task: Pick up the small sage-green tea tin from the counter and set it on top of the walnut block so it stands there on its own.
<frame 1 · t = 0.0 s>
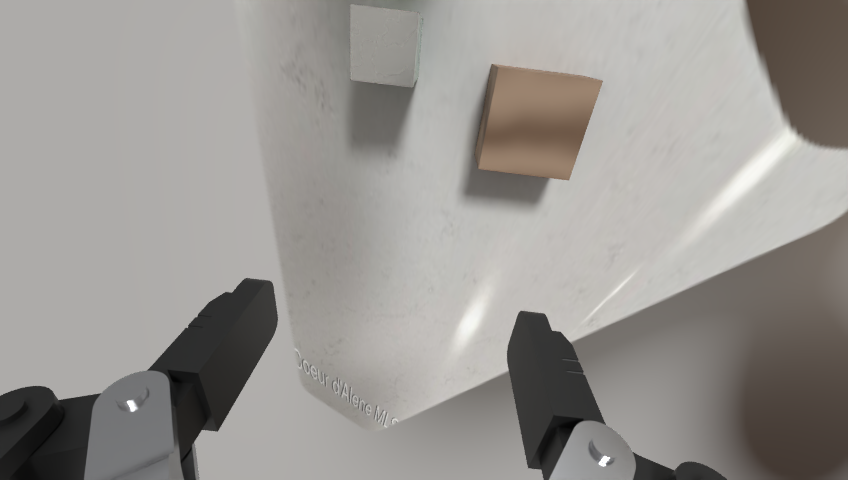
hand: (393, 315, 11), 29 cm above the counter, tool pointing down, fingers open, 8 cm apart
walnut block: (525, 117, 36), on the counter
tea tin: (394, 46, 33), on the counter
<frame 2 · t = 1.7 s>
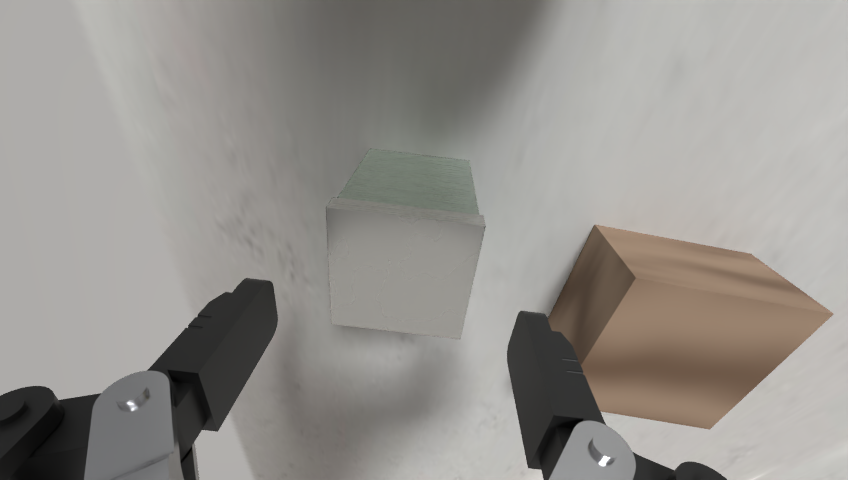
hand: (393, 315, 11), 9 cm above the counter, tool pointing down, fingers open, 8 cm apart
walnut block: (631, 298, 21), on the counter
tea tin: (415, 199, 19), on the counter
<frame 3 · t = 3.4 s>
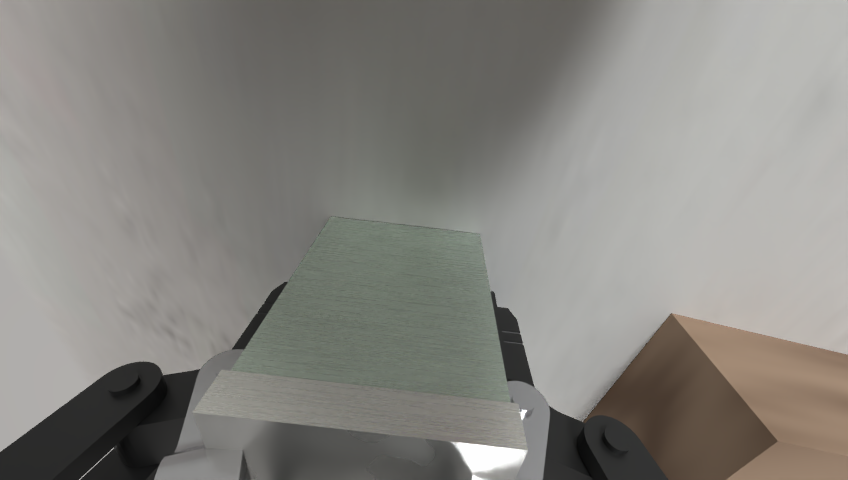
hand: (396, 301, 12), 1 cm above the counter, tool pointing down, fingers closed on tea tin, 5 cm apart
walnut block: (700, 403, 16), on the counter
tea tin: (400, 284, 13), on the counter, touching gripper
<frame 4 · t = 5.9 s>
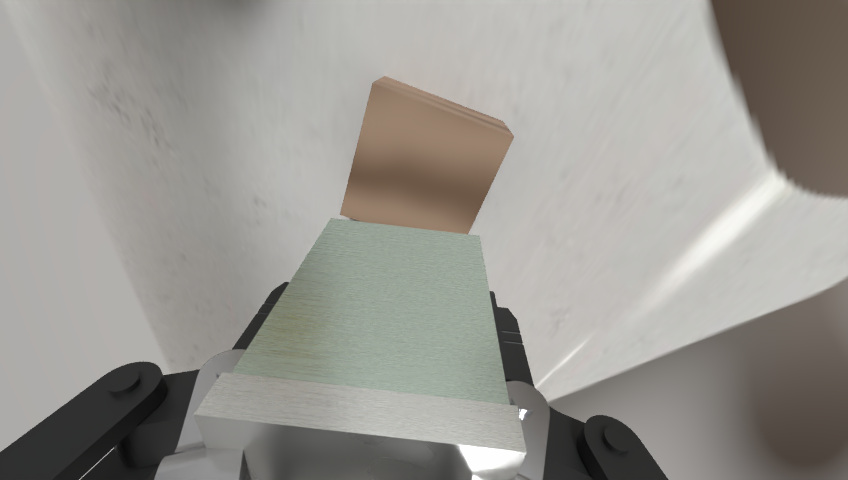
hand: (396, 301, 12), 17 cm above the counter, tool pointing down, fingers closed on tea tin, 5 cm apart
walnut block: (424, 156, 27), on the counter
tea tin: (400, 286, 13), point 16 cm above the counter, touching gripper
when the fingers open (7 cm above the counter, at t = 8.6 s): tea tin drops 1 cm, resting on walnut block.
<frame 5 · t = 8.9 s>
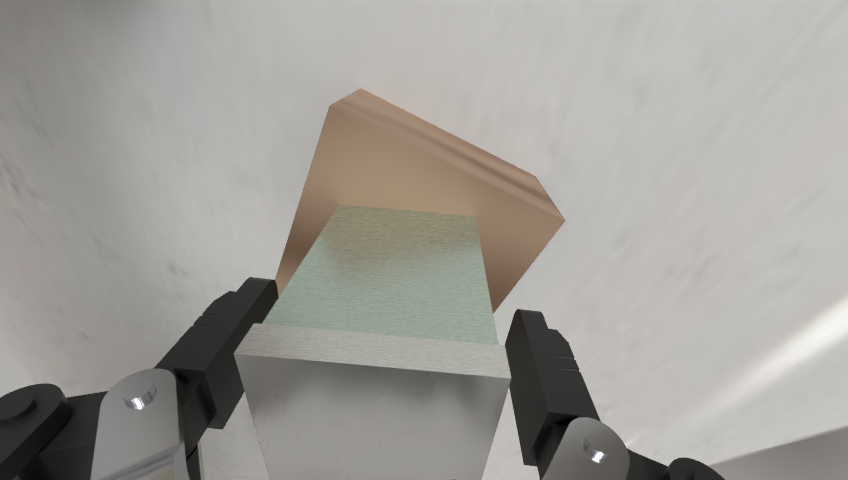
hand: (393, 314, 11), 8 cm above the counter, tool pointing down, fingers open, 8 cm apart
walnut block: (412, 211, 18), on the counter, touching tea tin
tea tin: (404, 266, 14), point 5 cm above the counter, touching walnut block
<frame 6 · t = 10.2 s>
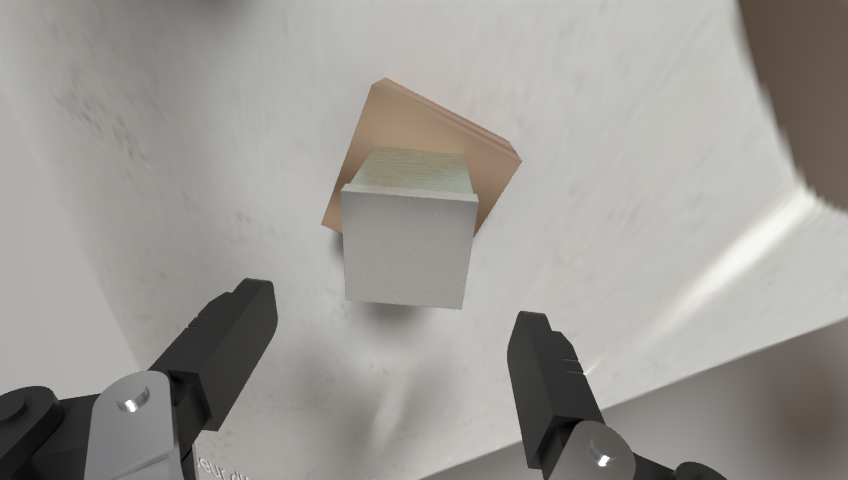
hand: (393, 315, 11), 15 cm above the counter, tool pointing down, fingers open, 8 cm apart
walnut block: (420, 169, 25), on the counter, touching tea tin
tea tin: (416, 192, 20), point 5 cm above the counter, touching walnut block
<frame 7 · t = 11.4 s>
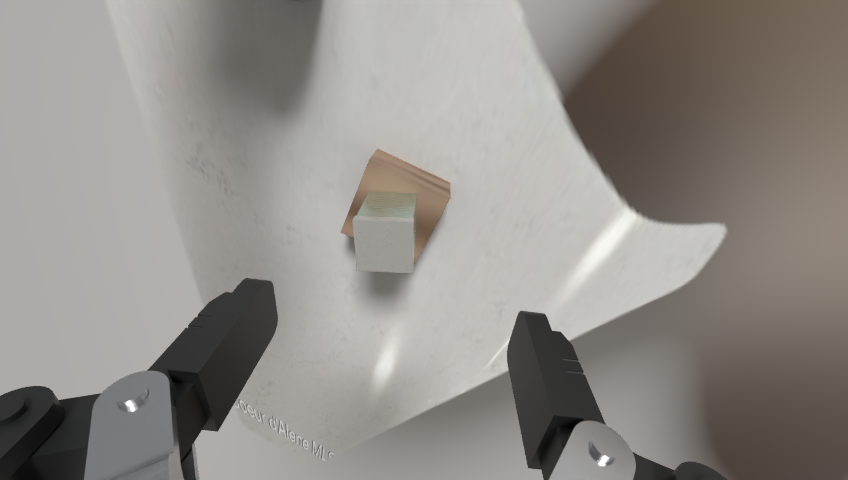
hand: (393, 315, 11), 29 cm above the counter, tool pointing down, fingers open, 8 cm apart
walnut block: (399, 198, 41), on the counter, touching tea tin
tea tin: (393, 214, 37), point 5 cm above the counter, touching walnut block
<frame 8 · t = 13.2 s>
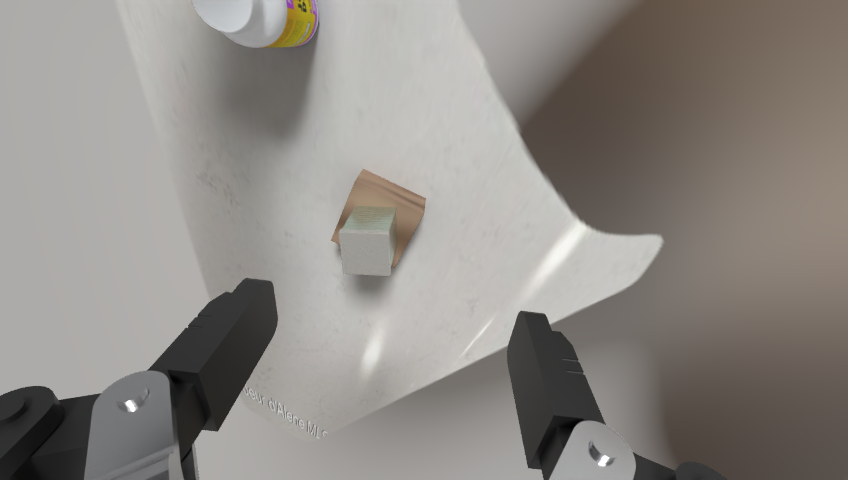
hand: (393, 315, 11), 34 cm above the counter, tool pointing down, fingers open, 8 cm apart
supplement bottle: (289, 10, 36), on the counter
walnut block: (382, 210, 48), on the counter
tea tin: (376, 224, 43), point 5 cm above the counter
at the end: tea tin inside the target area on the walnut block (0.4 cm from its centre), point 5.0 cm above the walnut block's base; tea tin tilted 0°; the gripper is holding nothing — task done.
